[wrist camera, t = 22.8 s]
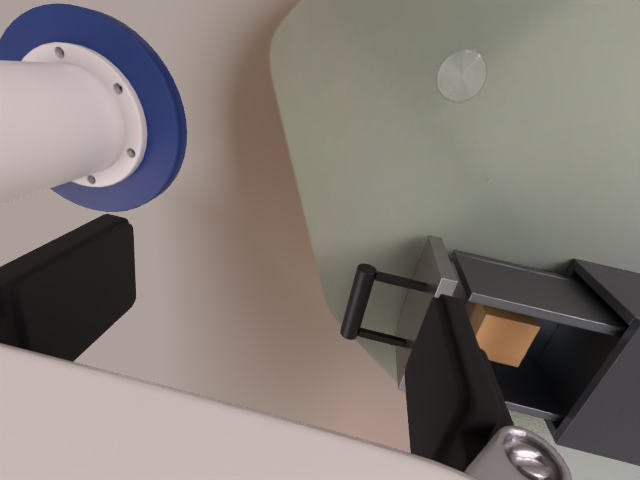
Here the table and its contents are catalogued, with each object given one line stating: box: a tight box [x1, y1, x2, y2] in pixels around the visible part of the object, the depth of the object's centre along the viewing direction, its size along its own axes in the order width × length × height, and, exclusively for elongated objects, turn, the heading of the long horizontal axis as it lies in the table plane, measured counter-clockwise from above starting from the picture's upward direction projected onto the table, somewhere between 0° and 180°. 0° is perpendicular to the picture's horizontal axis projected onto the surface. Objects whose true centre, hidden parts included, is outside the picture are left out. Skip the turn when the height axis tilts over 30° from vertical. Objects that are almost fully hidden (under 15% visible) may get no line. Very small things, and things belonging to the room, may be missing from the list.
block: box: [465, 301, 540, 367], centre depth 32 cm, size 4×4×4 cm
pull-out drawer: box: [341, 235, 630, 423], centre depth 32 cm, size 20×11×8 cm, turn 79°
